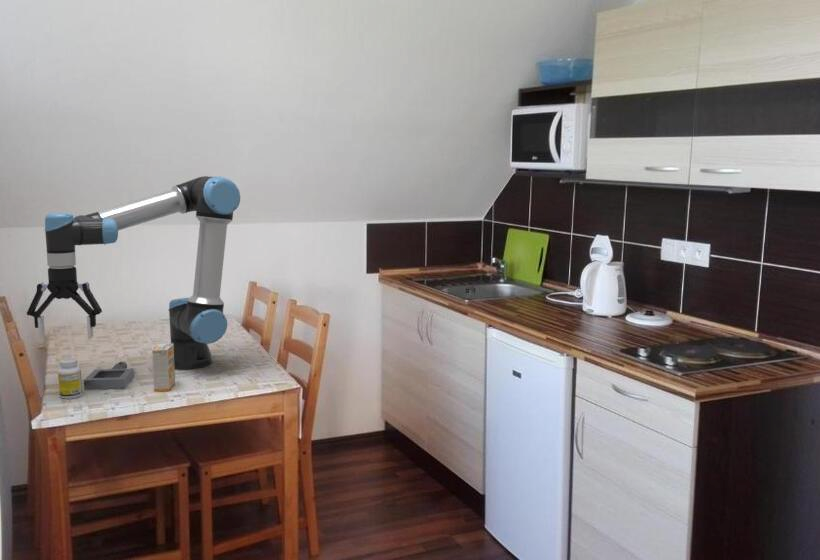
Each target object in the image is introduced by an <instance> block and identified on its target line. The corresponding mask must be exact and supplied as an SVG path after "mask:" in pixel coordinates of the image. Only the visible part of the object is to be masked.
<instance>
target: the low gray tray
mask: <svg viewBox="0 0 820 560" xmlns="http://www.w3.org/2000/svg"><path fill="white" fill-rule="evenodd" d="M134 378H135V369H134V368H130V367H129V368H128V365H127V362H125V361H119V362H117V363H116V364H115V365H114V366H113V367H112V368H105V369H103V368H101V369H100V368H99V369H98V368H97V369H94V370H93V371H92V372H90V374H88V375H87V376H86V377H85V378H84V379H83V390H85V391H86V390H87V391H88V390H91V391H92V390H117V389H118V390H119V389H120V390H121V389H123V390H124V389H126V388H127V387H128V386H129V384H131V382H132V380H133V379H134Z"/></svg>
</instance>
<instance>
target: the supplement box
mask: <svg viewBox="0 0 820 560" xmlns="http://www.w3.org/2000/svg"><path fill="white" fill-rule="evenodd" d="M151 351H152V368H153V369H152V370H153V389H154V392H169V391H170V390H171V389H172V388H173V386H174V385H175V384H176V371H175V370H176V369H175V366H174V344H171V343H158V344H157V345H156V346H155V347H154V348H153V349H152V350H151Z"/></svg>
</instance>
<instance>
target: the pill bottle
mask: <svg viewBox="0 0 820 560" xmlns="http://www.w3.org/2000/svg"><path fill="white" fill-rule="evenodd" d="M57 375H58V376H57V377H58V378H57V379H58V391H59V398H60V399H63V398H65V400H73V399H77V398H80V397H81V396H83V384H82V383H83V382H82V381H83V380H82V369H81V367H80V366H78V359H77V358H73V357H72V358H71V357H70V358H64V359H62V360H61V359H60V361H59V369H58V370H57ZM72 398H73V399H72Z"/></svg>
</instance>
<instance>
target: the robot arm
mask: <svg viewBox="0 0 820 560" xmlns="http://www.w3.org/2000/svg"><path fill="white" fill-rule="evenodd" d="M240 202H241V193H240V189H239V188H238V186H237V185H236V183H234V181H232V180H231V179H228V178H226V177H222V176H208V175H207V176H206V175H205V176H199V177H196V178H193V179H190V180H188V181H185V182H182V183H180V184H177V185H176V184H175V185H173V186H172V187H171V189H169V190H167V191H163V192H160V193H157V194H153V195H151V196H147V197H143V198H140V199H135V200H134V201H133V200H132V201H129V202H126V203H122V204H119V205H115V206H112V207H109V208H105V209H102V210H99V211H96V212H92V213H88V214H85V215H84V214H83V215H80V214H79V215H76V216H74V215H73V213H69V212H54V213H48V214H46V215H45V216H44V233H45V243H46V260H47V263H46V264H47V266H48V269H47V276H48V277H47V279H48V283H44V282H39V283H38V284H37V285H36V291H35V294H34V296H33V299H32V300H31V303H30V305H29V308H27V309H28V310H27V311H26V315H27V316H31V317H33V321H34V328H35V329H38V340H39V341H42V340H44V339H46V332H45V329H46V328H45V319H44V318H45V317H44V315H43V313H44V311H46V309H47V308H48V307H49V305H50V304H51V303H52V302H53V301H54V300H55V299H57V300H60V299H65V300H68V299H71V300H73V301H75V302H76V304H77V305H78V306H79V307H80V308H82V310H83V311H85V313H86V314H87V316H86V327H87V328H86V329H87V339H88V340H90V339H92V338H94V328H96V325H97V318H96V317H97V315H100V314H101V313H103V310H102V308H101V306H100V305H99V303H98V301H97V299H96V297H95V296H94V294H93V292H92V291H91V288H90V284H89V282H84V283H79V282H78V273H77V267H76V265H77V261H76V246H83V245H84V246H88V245H91V246H92V245H109V244H110V245H111V244H115V243H116V242H117V241H118V237H119V231H121V230H125V229H128V228H132V227H134V226H138V225H141V224H144V223H147V222H150V221H154V220H156V219H161V218H165V217H166V216H169V215H173V214H176V213H180V214H182V215H183V214H184V215H185V214H187V213H190V212H195V218H197V220H198V221H199V229H198V230H199V231H198V238H197V239H198V240H197V251H196V260H195V270H194V279H193V280H194V282H193V291H192V295H191V296H190V297H182V298H176V299H172V300H170V301H169V303H168V305H169V307H168V312H169V313H168V314H169V333H170V344H174V366H175V370H188V369H189V370H190V369H191V370H193V369H199V368H203V367H208V366H209V365H211V364H212V362H213V358H212V357H213V356H212V353H211V350H210V348H209V345H210V344H214V343H216V342H218V341H219V340H220V339H222V338H223V337H224V335H225V334H226V331H227V328H228V320H227V317H226V315H225V314H224V308H225V305H224V304H225V302H224V301H223V300H222V298H221V288H222V280H223V269H224V268H223V267H224V259H225V249H226V241H227V240H226V239H227V229H228V225H229V224H230V223H232V221H233V219H234V218H233V216H234V212H235V211H236V210H237V209H238V208H239V205H240ZM78 289H80V290H81V292H82V293H83V294H84V296H85V297H86V299H87V301H88V302H89V304H90V305H89V304H88V302H87V301H85V299H83V297H82V296H81V294H80V293H79V292H77V291H78ZM46 290H48V291H49V292H50V294H49V295H48V296H47V298H46V299H45V300H44V301H43V302H42V304H41V305H40V306H39V307H38V305H39V303H40V301H41V298H42V296H43V295H44V292H45V291H46ZM37 307H38V309H37ZM36 309H37V310H36Z"/></svg>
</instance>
